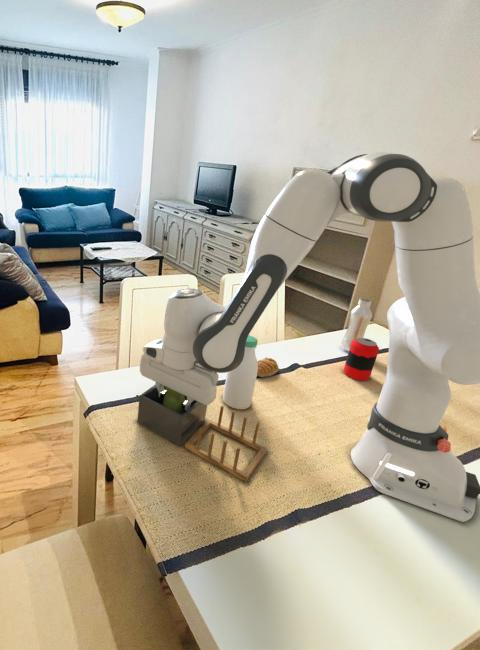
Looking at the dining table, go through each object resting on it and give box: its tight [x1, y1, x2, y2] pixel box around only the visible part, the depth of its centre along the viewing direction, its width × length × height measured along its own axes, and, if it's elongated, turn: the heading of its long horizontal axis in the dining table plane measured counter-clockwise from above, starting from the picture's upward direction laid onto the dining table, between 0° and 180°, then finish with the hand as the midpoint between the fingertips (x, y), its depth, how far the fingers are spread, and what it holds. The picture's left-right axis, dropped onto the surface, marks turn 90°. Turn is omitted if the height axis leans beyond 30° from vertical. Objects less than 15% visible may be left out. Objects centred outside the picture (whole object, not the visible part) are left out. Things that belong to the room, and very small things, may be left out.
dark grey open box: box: [136, 384, 208, 447], centre depth 97 cm, size 13×13×8 cm
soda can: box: [342, 337, 380, 381], centre depth 123 cm, size 8×8×12 cm
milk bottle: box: [222, 334, 258, 410], centre depth 105 cm, size 8×8×20 cm
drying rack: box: [184, 405, 268, 482], centre depth 89 cm, size 15×12×7 cm
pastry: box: [257, 357, 280, 378], centre depth 123 cm, size 9×7×4 cm
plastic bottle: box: [340, 297, 373, 352], centre depth 138 cm, size 6×7×20 cm
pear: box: [163, 387, 185, 414], centre depth 96 cm, size 6×5×10 cm
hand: (173, 402), depth 97 cm, fingers closed on pear, 5 cm apart
